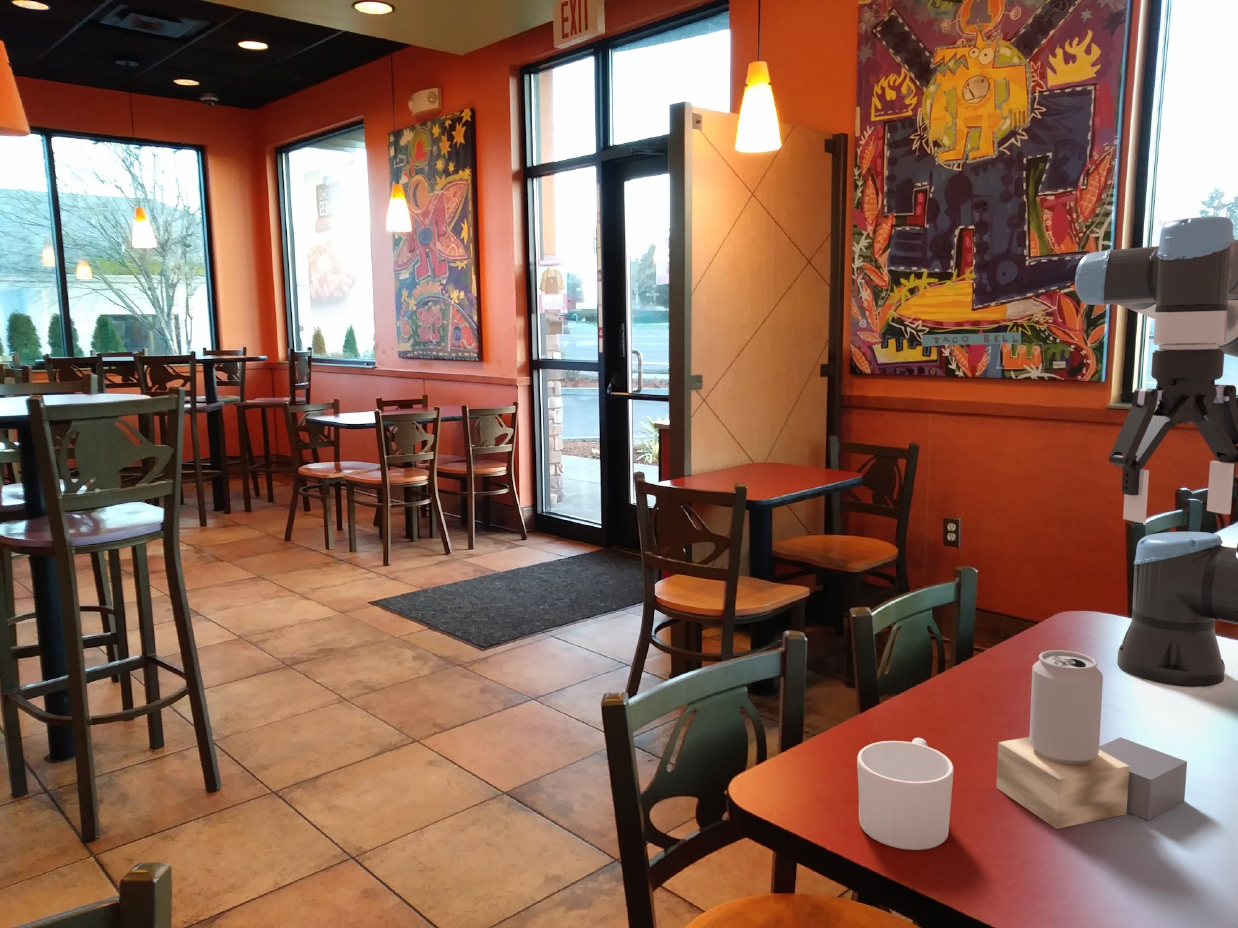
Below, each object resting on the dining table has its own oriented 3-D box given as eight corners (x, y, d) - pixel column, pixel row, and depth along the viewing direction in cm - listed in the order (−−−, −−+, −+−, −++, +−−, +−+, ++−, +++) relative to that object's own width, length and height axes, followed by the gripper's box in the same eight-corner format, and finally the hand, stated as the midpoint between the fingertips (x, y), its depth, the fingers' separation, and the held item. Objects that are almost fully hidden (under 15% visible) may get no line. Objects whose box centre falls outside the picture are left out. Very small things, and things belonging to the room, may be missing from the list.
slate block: (1118, 774, 114) (1120, 737, 114) (1184, 800, 107) (1187, 761, 107) (1081, 791, 110) (1083, 753, 109) (1148, 820, 103) (1150, 779, 103)
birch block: (1062, 774, 114) (1064, 730, 113) (1126, 813, 105) (1129, 765, 104) (996, 787, 112) (998, 742, 111) (1056, 828, 102) (1059, 779, 101)
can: (1107, 769, 103) (1113, 670, 101) (1037, 765, 105) (1042, 667, 103) (1087, 741, 110) (1092, 648, 109) (1022, 737, 112) (1026, 645, 110)
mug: (939, 862, 96) (942, 792, 95) (844, 835, 102) (845, 768, 101) (965, 806, 107) (967, 743, 106) (877, 785, 113) (879, 724, 112)
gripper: (1236, 345, 117) (1225, 504, 120) (1082, 349, 110) (1073, 518, 113) (1294, 345, 110) (1280, 514, 113) (1132, 350, 103) (1122, 530, 106)
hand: (1177, 516), depth 113 cm, fingers open, 13 cm apart
